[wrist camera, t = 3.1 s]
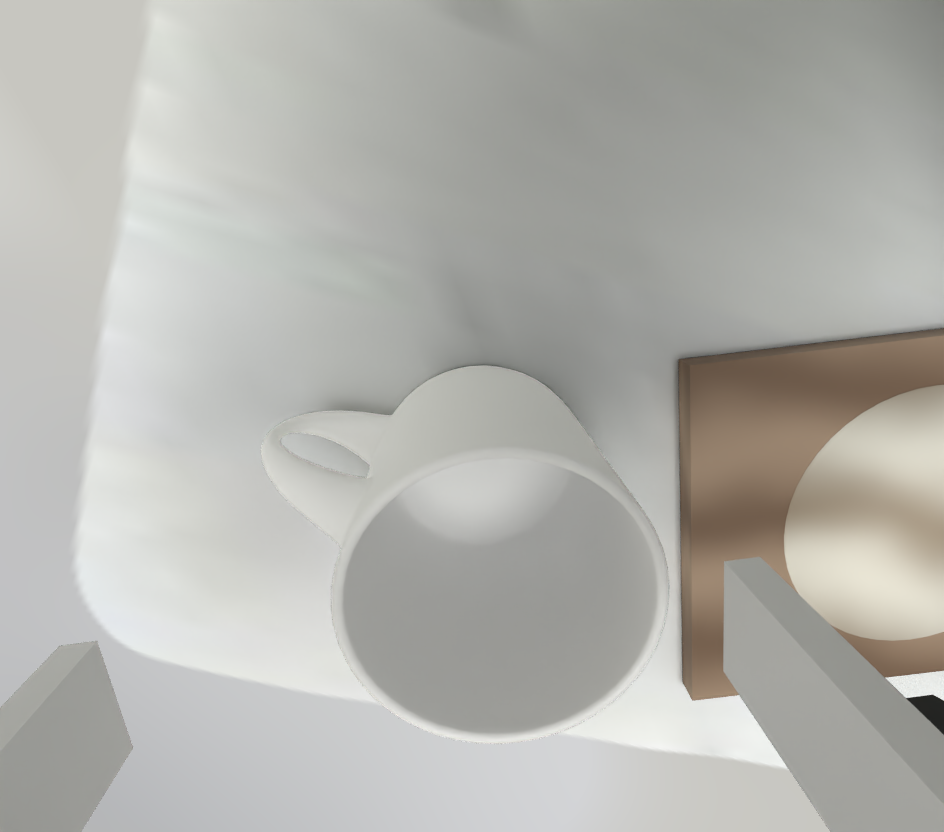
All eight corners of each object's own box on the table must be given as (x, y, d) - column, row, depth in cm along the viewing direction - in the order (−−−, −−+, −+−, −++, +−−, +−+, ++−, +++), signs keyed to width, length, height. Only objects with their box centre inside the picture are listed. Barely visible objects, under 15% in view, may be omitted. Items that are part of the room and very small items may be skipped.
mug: (345, 291, 23) (261, 330, 13) (615, 408, 25) (733, 525, 15) (273, 480, 25) (152, 644, 15) (528, 576, 27) (577, 782, 17)
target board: (678, 359, 24) (690, 365, 23) (1161, 302, 24) (1198, 305, 23) (682, 682, 29) (692, 701, 28) (1090, 633, 29) (1117, 650, 28)
